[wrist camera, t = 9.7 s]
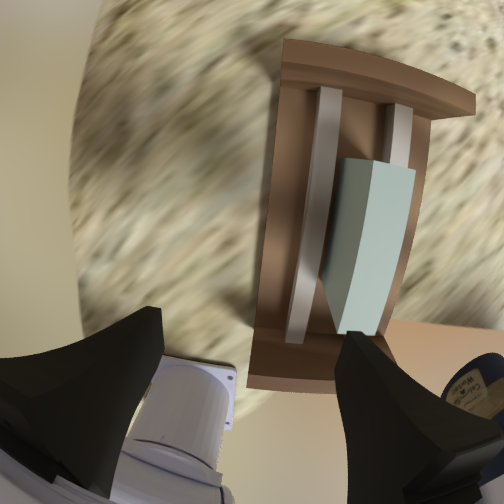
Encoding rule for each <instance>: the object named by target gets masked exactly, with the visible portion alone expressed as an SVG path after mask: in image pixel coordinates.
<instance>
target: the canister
mask: <svg viewBox="0 0 504 504" xmlns="http://www.w3.org/2000/svg"><path fill="white" fill-rule="evenodd" d="M441 399H443V400H445V401H447V402H448V403H450V404H452V405H454V406H456V407H458V408H460V409H462V410H465V411H467V412H469V413H472V414H474V415H477V416H480V417H483V418H486V419H489V420H493V421H496V422H498V424H499V426H500V428H501V429H502V431H503V433H504V357H503V356H501V355H499V354H498V353H487V354H483V355H481V356H478V357H477V358H475V359H473V360H472V361H471V362H469V363H467V364H466V365H465V366H464V367H463V368H461V369H460V370H459V371H458V372H457V373H456V374H455V375H454V376H453V378H452V379H451V380H450V381H449V383H448V384H447V386H446V387H445V389H444V391H443V393H442V395H441ZM480 474H481V477H482V478H481V480H480V481H479V482H477V483H478V486H479V488H480V487H482V486H483V485H485V484H486V483H488V482H490V481H492V480H494V479H496V478H498V477H500V476H501V475H503V474H504V447H503V448H502V450H501V451H500V452H499V453H498V454H497V455H496V456H495V457H494V458H493V459H492V460H491V461H490V462H489V463H488V464H487V465H486V466H485V467H484V468H483V469H482V470H481V471H480Z"/></svg>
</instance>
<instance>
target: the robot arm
mask: <svg viewBox="0 0 504 504" xmlns="http://www.w3.org/2000/svg"><path fill="white" fill-rule="evenodd" d="M164 349H165V347H164V337H163V326H162V313H161V308H157V307H151V306H146V307H143V308H142V309H140V310H138V311H136V312H134V313H132V314H131V315H129V316H127V317H125V318H124V319H122V320H120V321H118V322H117V323H115V324H113V325H111V326H109V327H107V328H105V329H103V330H101V331H99V332H97V333H95V334H93V335H91V336H89V337H87V338H85V339H83V340H80V341H78V342H75V343H73V344H70V345H67V346H64V347H62V348H58V349H54V350H50V351H47V352H43V353H39V354H34V355H28V356H22V357H14V358H0V504H235V500H234V497H233V496H232V494H231V491H230V489H229V488H228V487H226V486H223V485H221V481H222V475H223V474H222V473H219V472H216V468H217V463H218V458H219V453H220V448H221V442H222V437H223V432H224V430H228V431H229V430H231V429H232V423H233V411H234V400H235V388H236V377H237V370H236V369H235V368H233V367H227V366H220V365H214V364H208V363H202V362H196V361H190V360H185V359H180V358H175V357H170V356H165V355H163V352H164ZM334 375H335V387H336V394H337V399H338V404H339V408H340V413H341V417H342V422H343V427H344V432H345V437H346V444H347V460H348V496H347V504H504V474H503V475H501V476H500V477H498V478H496V479H494V480H492V481H490V482H488V483H486V484H485V485H483V486H482V487H480V488H479V486H478V483H477V482H479V481H480V480H481V478H482V477H481V474H480V471H481V470H482V469H483V468H484V467H485V466H486V465H487V464H488V463H489V462H490V461H491V460H492V459H493V458H494V457H495V456H496V455H497V454H498V453H499V452H500V451H501V450H502V448H503V447H504V433H503V431H502V429H501V428H500V426H499V424H498V422H496V421H493V420H489V419H486V418H483V417H480V416H477V415H474V414H472V413H469V412H467V411H465V410H462V409H460V408H458V407H456V406H454V405H452V404H450V403H448V402H447V401H445V400H443V399H441V398H440V397H438V396H436V395H435V394H433V393H432V392H430V391H429V390H427V389H426V388H425V387H423V386H422V385H420V384H419V383H418V382H416V381H415V380H414V379H412V378H411V377H410V376H409V375H408V374H407V373H405V372H404V371H403V370H402V369H401V368H400V367H399V366H397V365H396V364H395V363H394V362H393V361H392V360H391V359H390V358H389V357H388V356H387V355H386V354H385V353H384V352H383V351H382V350H381V349H380V348H379V347H378V346H377V345H376V344H375V343H374V342H373V341H372V340H371V339H370V338H369V337H368V336H366V335H365V334H364V333H363V332H362V331H348V330H347V332H346V336H345V339H344V342H343V345H342V348H341V351H340V354H339V357H338V360H337V363H336V365H335V368H334ZM229 376H232V377H229ZM150 382H151V383H152V386H151V388H150V390H149V392H148V394H147V396H146V398H145V400H144V403H143V405H142V407H141V409H140V411H139V413H138V415H137V417H136V419H135V421H134V423H133V426H132V428H131V430H130V432H129V434H128V436H127V437H125V436H126V433H127V431H128V428H129V425H130V422H131V420H132V417H133V415H134V413H135V410H136V408H137V406H138V405H139V403H140V401H141V399H142V397H143V395H144V393H145V391H146V390H147V388H148V386H149V384H150Z"/></svg>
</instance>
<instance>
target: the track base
mask: <svg viewBox="0 0 504 504" xmlns="http://www.w3.org/2000/svg"><path fill="white" fill-rule="evenodd" d="M471 115H476V94H474V93H472V92H470V91H468V90H466V89H464V88H462V87H460V86H458V85H456V84H454V83H451V82H449V81H447V80H445V79H442V78H440V77H437V76H435V75H432V74H430V73H427V72H425V71H422V70H420V69H417V68H414V67H411V66H408V65H405V64H402V63H399V62H396V61H393V60H390V59H387V58H383V57H380V56H376V55H372V54H369V53H365V52H361V51H357V50H352V49H348V48H343V47H338V46H333V45H328V44H322V43H316V42H310V41H302V40H295V39H286V38H284V43H283V54H282V67H281V83H280V94H279V105H278V115H277V125H276V135H275V145H274V155H273V165H272V174H271V184H270V193H269V203H268V212H267V221H266V230H265V239H264V248H263V257H262V266H261V275H260V283H259V292H258V301H257V309H256V318H255V326H254V334H253V341H252V349H251V356H250V363H249V371H248V379H247V387H246V388H252V389H261V390H272V391H283V392H299V393H320V394H336V387H335V375H334V368H335V365H336V363H337V360H338V357H339V354H340V351H341V348H342V345H343V342H344V339H345V336H346V334H337V331H336V327H335V324H334V321H333V317H332V314H331V311H330V308H329V304H328V301H327V298H326V295H325V292H324V288H323V285H322V282H321V278H322V273H323V268H324V263H325V258H326V253H327V247H328V241H329V236H330V230H331V224H332V218H333V211H334V205H335V198H336V191H337V184H338V177H339V169H340V161H341V158H354V159H365V160H375V161H379V162H384V163H388V164H393V165H397V166H401V167H405V168H409V169H413V170H416V173H415V180H414V187H413V193H412V199H411V204H410V210H409V215H408V220H407V225H406V229H405V234H404V238H403V243H402V247H401V251H400V255H399V259H398V263H397V266H396V270H395V274H394V277H393V281H392V284H391V288H390V291H389V294H388V298H387V301H386V304H385V307H384V310H383V313H382V316H381V319H380V322H379V325H378V328H377V331H376V333H375V335H366V336H368V337H369V338H370V339H371V340H372V341H373V342H374V343H375V344H376V345H377V346H378V347H379V348H380V349H381V350H382V351H383V352H384V353H385V354H386V355H387V356H388V357H389V358H390V359H391V360H392V361H393V362H394V363H395V364H396V365H397V363H396V361H395V359H394V357H393V355H392V353H391V350H390V348H389V346H388V344H387V342H386V340H385V338H384V334H385V331H386V328H387V325H388V323H389V320H390V317H391V314H392V312H393V309H394V306H395V303H396V300H397V296H398V293H399V290H400V287H401V284H402V280H403V277H404V273H405V270H406V266H407V263H408V259H409V255H410V251H411V247H412V243H413V239H414V234H415V230H416V225H417V221H418V216H419V211H420V206H421V200H422V194H423V188H424V182H425V175H426V168H427V160H428V151H429V141H430V129H431V120H437V119H445V118H453V117H461V116H471ZM397 366H398V365H397Z"/></svg>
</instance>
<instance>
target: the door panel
mask: <svg viewBox="0 0 504 504" xmlns="http://www.w3.org/2000/svg"><path fill="white" fill-rule="evenodd" d="M415 173H416V170H413V169H409V168H405V167H401V166H397V165H393V164H388V163H384V162H379V161H375V160H365V159H354V158H341V161H340V169H339V177H338V184H337V191H336V198H335V205H334V211H333V218H332V224H331V230H330V236H329V241H328V247H327V253H326V258H325V263H324V268H323V273H322V278H321V282H322V285H323V288H324V292H325V295H326V298H327V301H328V304H329V308H330V311H331V314H332V317H333V321H334V324H335V327H336V331H337V334H346V332H347V330H348V331H362V332H363V333H364V334H365V335H375V333H376V331H377V328H378V325H379V322H380V319H381V316H382V313H383V310H384V307H385V304H386V301H387V298H388V294H389V291H390V288H391V284H392V281H393V277H394V274H395V270H396V266H397V263H398V259H399V255H400V251H401V247H402V243H403V238H404V234H405V229H406V225H407V220H408V215H409V210H410V204H411V199H412V193H413V187H414V180H415Z"/></svg>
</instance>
